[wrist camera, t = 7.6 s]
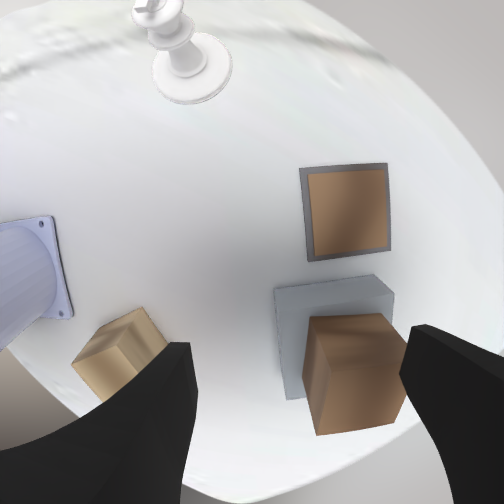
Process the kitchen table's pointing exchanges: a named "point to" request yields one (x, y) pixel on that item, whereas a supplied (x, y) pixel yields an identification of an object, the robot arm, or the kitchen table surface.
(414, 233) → the kitchen table surface
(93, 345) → the oak block
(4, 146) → the kitchen table surface
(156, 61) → the chess piece
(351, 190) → the walnut swatch
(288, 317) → the base block
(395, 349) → the walnut block
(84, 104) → the kitchen table surface
